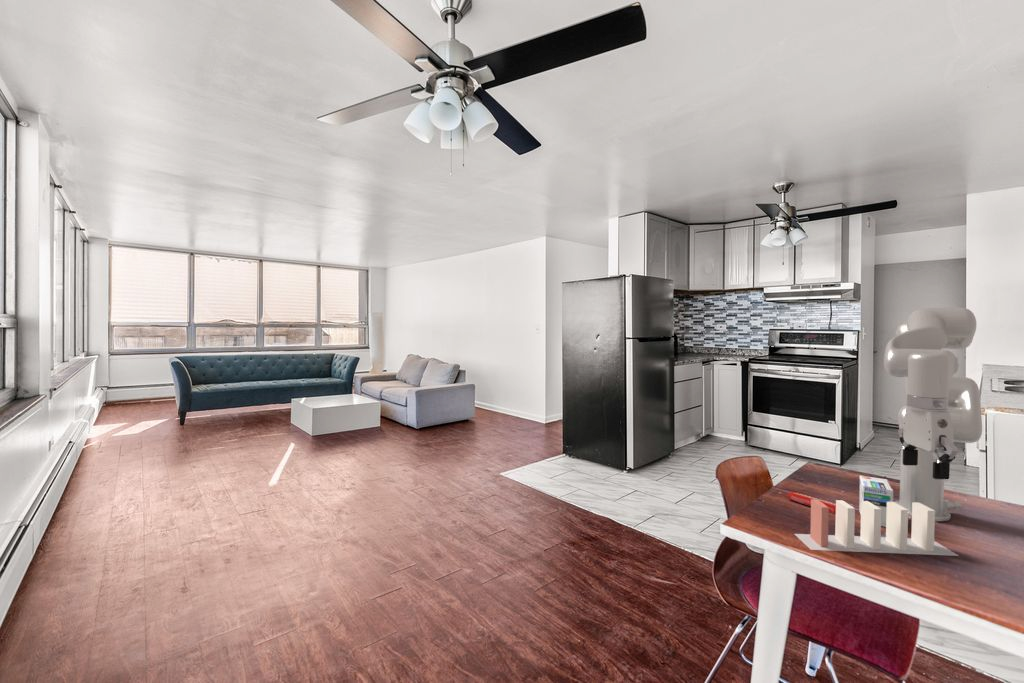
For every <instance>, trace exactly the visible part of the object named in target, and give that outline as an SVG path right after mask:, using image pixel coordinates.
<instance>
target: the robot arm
mask: <svg viewBox="0 0 1024 683" xmlns="http://www.w3.org/2000/svg"><path fill="white" fill-rule="evenodd" d="M976 331H977V318H976V316H975V314H974V312H972V310H970V308H969V309H968V308H966V307H925V308H924V307H923V308H919V309H917V310H915V311H913V312H912V313H910V314H909V316H908V317H907V320H906V322H903V323H902V324H900V325H898V327H897V328H896V331H895V336H894V337H892V338H891V339H889V341H888V342H887V343H886V346H885V351H884V358H883V366H884V370H885V373H887V374H888V375H889V376H892V377H894V378H895V377H896V378H904V379H905V381H904V382H905V383H904V384H905V388H904V390H905V391H904V392H905V397H906V405H904V406H902V407H900V409H899V410H898V413H897V422H898V427H899V429H897V432H898V435H899V442H900V469H899V471H900V474H899V476H900V478H899V500H895V501H894V502H895V503H897V504H898V505H900V506H902V507H904V508H906V509H907V510H908V517H909V516H910V517H912V502H918V503H921V504H923V505H925V506H927V507H929V508H931V509H933V510H935V522H947V521H949V520H950V519H951V513H950V512H949V511H950V510H951V509H952V510H962V509H963V505H962V503H961V502H959V501H950V500H949V499H944V497H945V496H944V495H945V493H944V492H945V480H949V479H950V470H951V469H950V467H951V466H950V465H951V464H952V463H953V461H954V460H955V459H956V457H957V456H956V455H957V454H958V452H959V448H958V447H957V446H955V444H954V443H955V442H956V443H965V444H973V443H977V442H978V441H979V440H980V439H981V438H982V434H983V420H982V407H981V404H982V403H981V394H980V389H979V386H978V384H977V382H976V381H975V380H974V379H972V378H970V377H966V376H956V375H955V374H957V373H958V372H959V358H958V357H957V356H956V355H955V354H954V352H953V351H950V350H960V349H962V350H963V349H966V348H969V347H970V346H971V344H972V342H973V339H974V338H975V337H974V336H975V334H976ZM945 349H947V350H945ZM949 349H950V350H949Z"/></svg>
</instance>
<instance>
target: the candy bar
mask: <svg viewBox="0 0 1024 683" xmlns="http://www.w3.org/2000/svg"><path fill="white" fill-rule="evenodd" d="M786 497H788V499H789V500H791V501H793V502H796V503H799V504H802V505H805V506H807V507H808V506H809V507H811V499H813V500H819V501H820V502H822V503H823V504H825V505H826V506H827V507H829V513H831V514H834V515H836V503H833V502H829V501H828V500H823V499H820V498H816V497H812V496H811V495H810V496H809V495H806V494H802V493H800V492H790V493H789V494H787V495H786Z"/></svg>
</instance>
